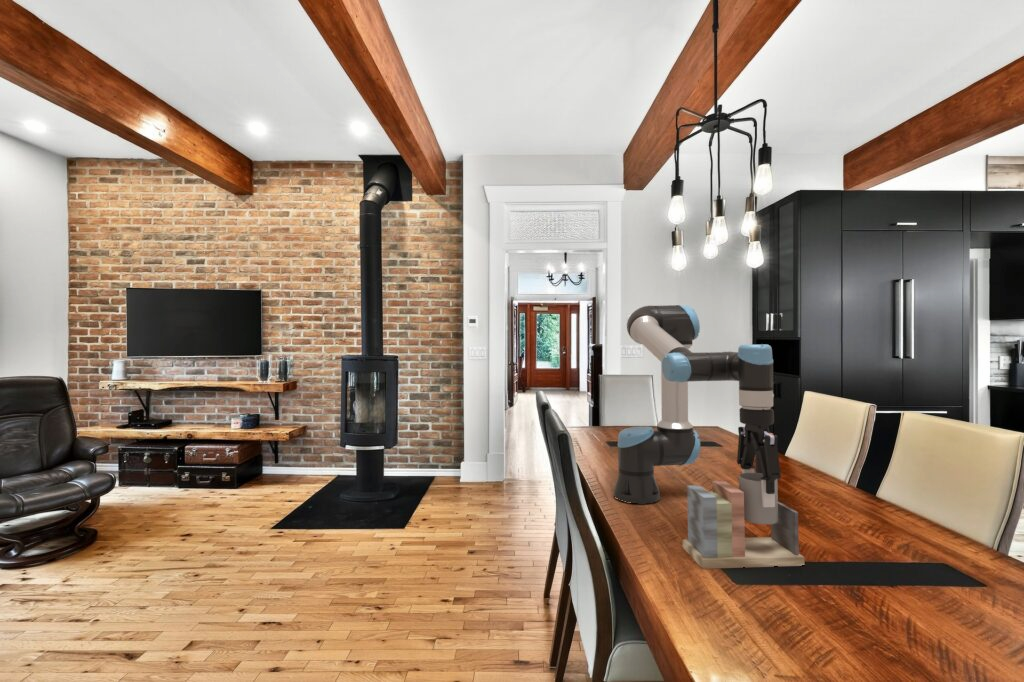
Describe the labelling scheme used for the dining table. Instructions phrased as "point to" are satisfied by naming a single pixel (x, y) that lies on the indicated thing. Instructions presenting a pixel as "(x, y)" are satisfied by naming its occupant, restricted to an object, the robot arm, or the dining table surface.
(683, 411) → the robot arm
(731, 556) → the pastel book stand
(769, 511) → the cup
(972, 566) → the dining table surface
